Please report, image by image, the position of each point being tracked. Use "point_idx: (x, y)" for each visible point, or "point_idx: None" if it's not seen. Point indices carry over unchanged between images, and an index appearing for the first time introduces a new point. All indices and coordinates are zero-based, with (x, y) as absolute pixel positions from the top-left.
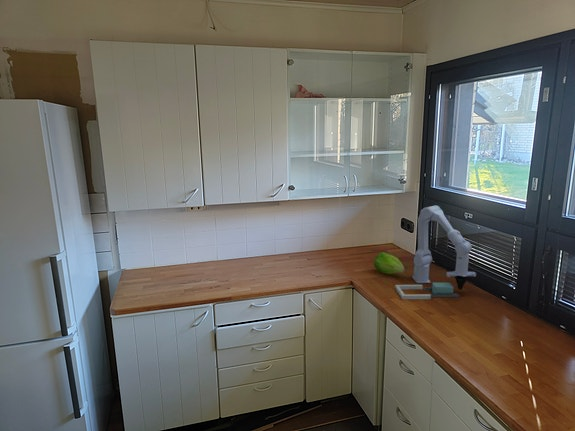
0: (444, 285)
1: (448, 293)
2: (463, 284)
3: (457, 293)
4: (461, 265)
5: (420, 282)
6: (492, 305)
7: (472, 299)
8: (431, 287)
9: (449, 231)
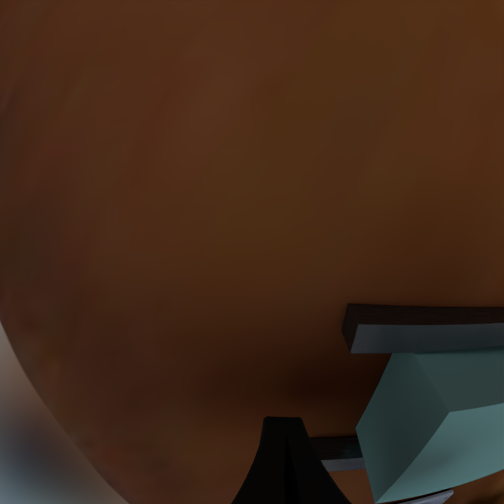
0: (487, 442)
1: (462, 348)
2: (256, 480)
3: (366, 349)
4: None
5: (437, 494)
6: (58, 39)
7: (202, 211)
8: None
9: None
